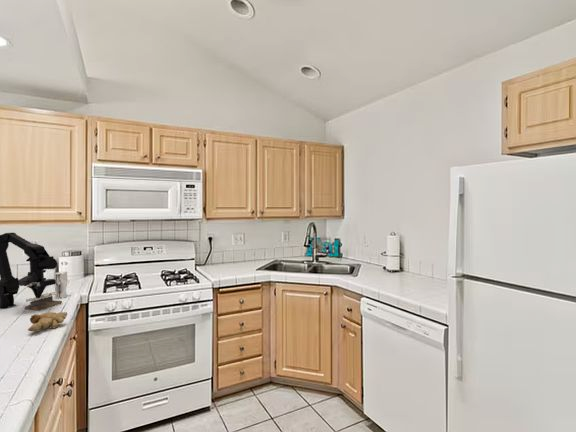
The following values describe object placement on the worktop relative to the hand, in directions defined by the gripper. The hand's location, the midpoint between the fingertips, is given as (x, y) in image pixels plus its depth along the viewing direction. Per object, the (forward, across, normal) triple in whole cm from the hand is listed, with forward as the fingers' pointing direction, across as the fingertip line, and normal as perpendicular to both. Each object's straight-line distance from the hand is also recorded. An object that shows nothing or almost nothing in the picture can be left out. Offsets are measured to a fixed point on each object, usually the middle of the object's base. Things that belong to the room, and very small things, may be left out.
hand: (38, 298), depth 177 cm
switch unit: (+6, -2, +4) cm, 8 cm away
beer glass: (+6, -10, +22) cm, 24 cm away
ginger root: (+7, +30, -20) cm, 37 cm away
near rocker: (+1, -3, 0) cm, 3 cm away
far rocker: (+1, -3, +9) cm, 10 cm away
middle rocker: (+1, -3, +4) cm, 6 cm away
